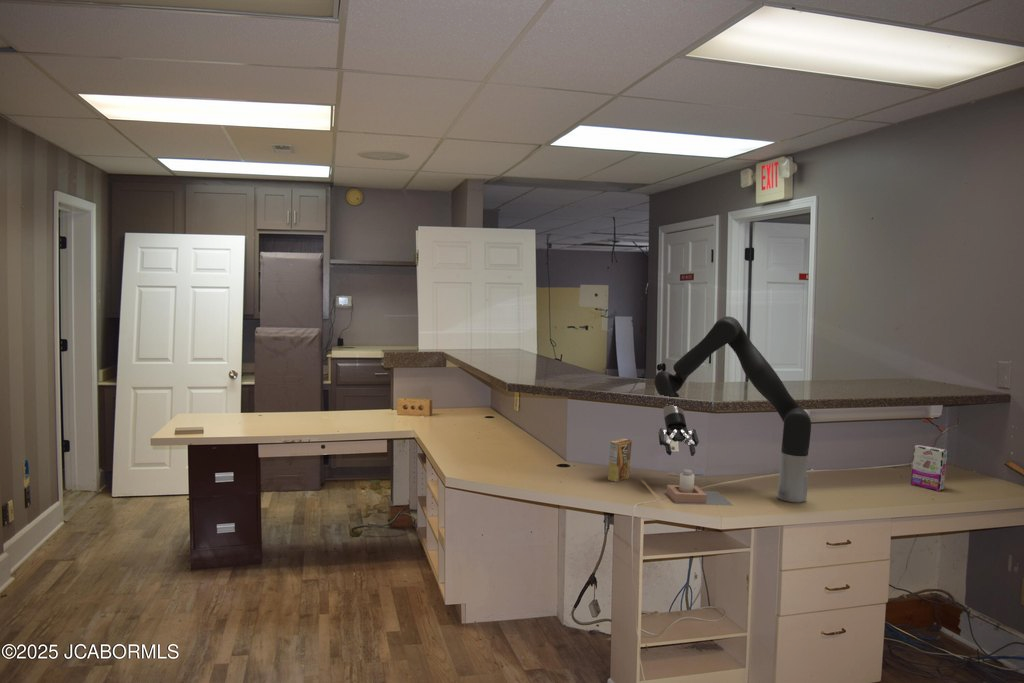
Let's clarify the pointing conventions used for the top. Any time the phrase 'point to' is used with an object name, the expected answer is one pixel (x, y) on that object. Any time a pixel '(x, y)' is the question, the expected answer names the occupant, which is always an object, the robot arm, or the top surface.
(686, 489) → the connector plug
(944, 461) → the candy bar box
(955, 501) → the top surface
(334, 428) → the top surface
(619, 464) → the candy box
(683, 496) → the holder
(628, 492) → the top surface
